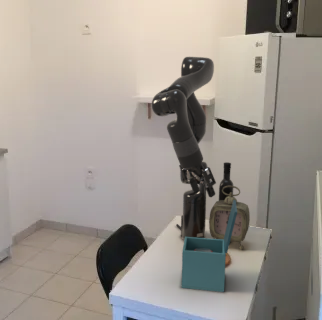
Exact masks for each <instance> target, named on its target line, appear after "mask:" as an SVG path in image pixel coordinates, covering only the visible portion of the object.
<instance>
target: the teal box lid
mask: <svg viewBox="0 0 322 320" xmlns="http://www.w3.org/2000/svg"><path fill="white" fill-rule="evenodd" d="M236 200H237V199H236ZM236 200H233V203H232V208H231V212H230V216H229V220H228V224H227V228H226V232H225V236H224V251H225V253H226V254H228V253H229V247H230V244H231V243H230V240H231V236H232V232H233V228H234V224H235V220H236V216H237V206H236Z"/></svg>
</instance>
